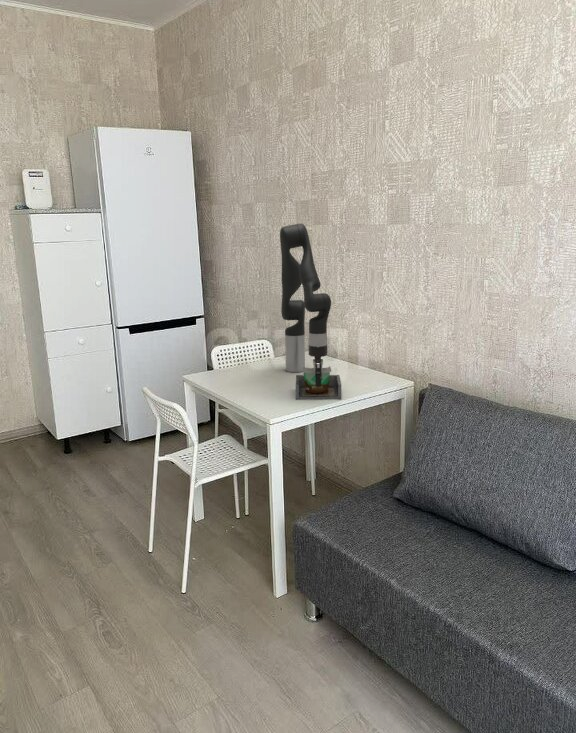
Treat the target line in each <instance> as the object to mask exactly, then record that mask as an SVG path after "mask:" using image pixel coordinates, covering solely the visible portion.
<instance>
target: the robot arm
mask: <svg viewBox="0 0 576 733" xmlns="http://www.w3.org/2000/svg"><path fill="white" fill-rule="evenodd" d="M279 242H280V252H281V290H282V291H281V294H282V295H281V318H282V319H283V320H285V321H296V323H295V324H293V325H291V326H288V327H286V328H285V329H284V342H285V343H284V345H285V346H284V347H285V350H284V352H285V356H284V357H285V371H286V372H289V373H303V372H302V369H303V367H305V368H306V342H305V341H306V339H305V338H306V336H305V331H306V330H305V320H306V319H305V315H306V311H308V312H309V313H317V315H316V316H313V317H311V318H310V319H309V320H308V340H307V341H308V356H310V357H314V359H312V365H313V368H314V371H315V380H316V387H320V386H321V377H322V375H321V372H322V368H323V365H324V359H323V357H326V356H327V355H328V335H327V334H328V332H327V331H328V330H327V329H328V327H327V325H328V324H327V323H328V318H329V315H330V311H331V307H332V299H331V297H330V295H329V294H328V293H326V292H325V293H324V292H322V293H314V292H317V291H318V290H319V289H321V287H322V286H321V285H322V284H321V281H320V279H319V275H318V272H317V269H316V266H315V261H314V257H313V250H312V246H311V245H312V244H311V241H310V236H309V233H308V229H307V227H306V225H305V224H303V223H295V224H291V225H289V224H288V225H285V226H282V227H281V228H280V230H279ZM300 247H302V251H303V252H302V253H303V254H302V258H301V261H300V262H299V261H298V260H297V259H296V258H295V257H294V256H293V255H292V253H291V249H296V248H300ZM301 286H302V290H303V300H302V299H293V300H292V297H293V296H294V295H295V293H296V292H298V290H299V289H300V287H301ZM316 372H320V374H316Z"/></svg>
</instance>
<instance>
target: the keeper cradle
mask: <svg viewBox="0 0 576 733" xmlns="http://www.w3.org/2000/svg"><path fill="white" fill-rule="evenodd" d="M295 377H296V378H295V401H296V400H342V381H341V377H340V374H330V375H329V386H328V391H327V392H321V393H312V392H307V391H305V382H304V374H302V375H300V374H299V375H298V374H297V375H296V376H295Z"/></svg>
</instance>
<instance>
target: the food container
mask: <svg viewBox="0 0 576 733" xmlns="http://www.w3.org/2000/svg"><path fill="white" fill-rule="evenodd" d="M301 373H303V375H304V382H305V391H307V392H312V393H321V392H327V391H328V386H329V375H331V373H332V367H331V365H329V366H328V367H322V372H321V375H322V377H321V386H320V387H316V380H315V371H314V367H312V368H311V367H306V366H305V367H303V369H302V372H301ZM316 374H320V372H316Z"/></svg>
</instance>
